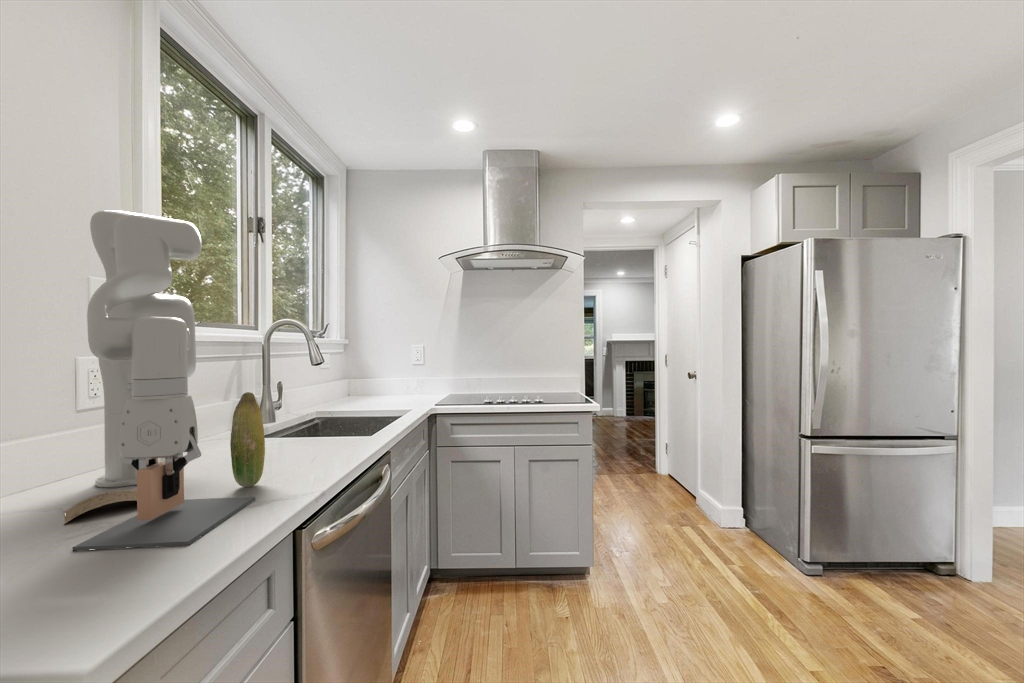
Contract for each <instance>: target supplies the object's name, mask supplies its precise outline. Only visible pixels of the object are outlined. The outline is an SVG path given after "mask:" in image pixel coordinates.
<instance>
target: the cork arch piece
mask: <svg viewBox="0 0 1024 683" xmlns="http://www.w3.org/2000/svg"><path fill="white" fill-rule="evenodd" d="M124 501H125V502H126V501H136V502H137V489H127V490H122V489H121V490H114V491H108V492H104V493H99V494H96V495H94V496H91V497H88V498H86V499H82V501H79V502H78V503H76V504H74V505H72V506H71V507H70V508H68V509H66V510H65V511H64V512H65V513H66V516H65V515H64V523H63V525H64V526H65V525H66V524H67V523H68V522H70V521H72V520H73V519H75V518H77V517H78V516H80V515H82V514H85V513H86V512H88V511H92V510H94V509H97V508H100V507H102V506H105V505H108V504H112V503H119V502H124Z"/></svg>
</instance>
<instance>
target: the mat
mask: <svg viewBox="0 0 1024 683" xmlns="http://www.w3.org/2000/svg"><path fill="white" fill-rule="evenodd" d="M255 499H256V497H255V496H238V497H235V496H234V497H233V496H232V497H214V498H212V497H211V498H195V499H194V498H192V499H191V498H189V499H185V498H184V503H183V504H181V505H179V506H177V507H175V508H173V509H171V510H169V511H167V512H165V513H163V514H161V515H160V516H158V517H156V518H154V519H152V520H137V515H135V516H132V517H130V518H129V519H126V520H124V521H122V522H121V523H118V524H116V525H115V526H112V527H110V528H107V529H106V530H104V531H102V532H100V533H98V534H96V535H94V536H92V537H91V538H88V539H86V540H84V541H82V542H80V543H78V544H76V545H74V546H71V547H72V549H71V550H88V551H90V550H89V549H107V550H115V549H114V548H126V547H147V548H157V547H156V546H159V547H158V548H161V547H160V546H167V547H185V546H189V544H190V545H191V544H192V542H193V541H194V542H196V541H197V540H199V539H200V538H201V537H203V536H204V535H206V534H208V531H209V532H210V531H212V530H213V529H214V528H216V527H217V526H219V525H220V524H222V523H223V522H225V521H226V520H227V519H229V518H230V517H232V516H234V515H235V514H236V513H238V512H239V511H241V510H242V509H243V508H245V507H246V506H248V505H249V504H251V503H252V502H253V501H255ZM224 520H225V521H224ZM221 522H222V523H221ZM218 524H219V525H218ZM215 526H216V527H215ZM212 528H213V529H212ZM205 533H206V534H205ZM203 534H204V535H203ZM202 535H203V536H202ZM200 536H201V537H200ZM199 537H200V538H199ZM196 539H197V540H196ZM194 542H193V543H194Z"/></svg>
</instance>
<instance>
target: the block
mask: <svg viewBox="0 0 1024 683" xmlns="http://www.w3.org/2000/svg"><path fill="white" fill-rule="evenodd" d="M184 474H185V466H184V467H183V470H181V471H180V488H179V492H178V494H177V495H175V496H173V497H171V498H169V499H163V494H162V476H163V475H166V473H165V461H162V462H159V463H157V464H154V465H151V466H148V467H145V468H142V469H140V470H137V484H136V490H137V501H136V503H137V504H136V507H137V508H136V514H137V520H152V519H154V518H156V517H158V516H160V515H161V514H163V513H165V512H167V511H169V510H171V509H173V508H175V507H177V506H179V505H181V504H183V503H184V500H185V475H184Z"/></svg>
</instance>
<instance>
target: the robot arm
mask: <svg viewBox="0 0 1024 683" xmlns="http://www.w3.org/2000/svg"><path fill="white" fill-rule="evenodd" d="M89 227H90V228H89V230H90V235H91V239H92V240H91V241H92V243H93V246H94V248H95V251H96V253H97V255H98V257H99V260H100V261H101V264H102V266H103V269H104V272H105V282H103V283H102V284H101V285H100V286H99V287H98V288H97V289H96V290H95V291H94V293H93V294H92V295H91V297H90V300H89V303H88V305H87V312H86V313H87V314H86V320H87V322H86V323H87V340H88V341H87V342H88V347H89V350H90V352H91V353H92V355H93V356H95V357H96V358H98V360H97V361H98V366H99V371H100V375H101V380H102V387H103V400H104V401H103V404H104V406H103V407H104V418H103V419H104V475H101V476H99V477H98V478H96V479H95V482H94V485H95V487H98V488H122V487H129V486H135V485H136V486H137V470H140V469H142V468H145V467H148V466H151V465H154V464H157V463H159V462H162V461H165V473H166V475H163V476H162V494H163V499H169V498H171V497H173V496H175V495H177V494H178V492H179V488H180V471H181V470H183V467H184V468H185V467H186V466H187V465H188V464H189V463H190V462H192V461H194V460H196V459H198V458H200V457H201V456H202V452H201V450H200V448H199V445H198V443H199V442H198V441H199V440H198V439H199V437H198V436H199V434H198V421H197V414H196V408H195V404H194V400H193V397H192V395H189V392H188V391H189V389H188V387H189V385H188V384H189V383H188V381H189V379H188V378H190V377H192V376H193V375H194V373H195V370H196V365H197V352H196V350H197V348H196V344H197V343H196V323H195V322H196V319H195V311H194V307H193V304H192V302H191V300H189V299H188V298H186V297H184V296H182V295H176V294H163V293H162V292H163V291H165V290H167V289H168V288H169V287H171V284H172V283H173V281H174V280H173V279H174V277H173V270H172V265H171V260H178V261H189V262H191V261H196V260H197V259H198V258H199V257H200V255H201V252H202V246H203V244H202V243H203V242H202V237H201V234H200V231H199V229H198V228H197V226H196V225H195V224H194V223H192V222H189V221H185V220H181V219H174V218H170V217H169V218H168V217H163V216H156V215H149V214H144V213H138V212H131V211H124V210H113V209H109V210H108V209H107V210H100V211H97V212H95V213H93V215H92V216H91V219H90V222H89ZM160 293H162V294H160ZM184 453H186V455H184Z"/></svg>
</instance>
